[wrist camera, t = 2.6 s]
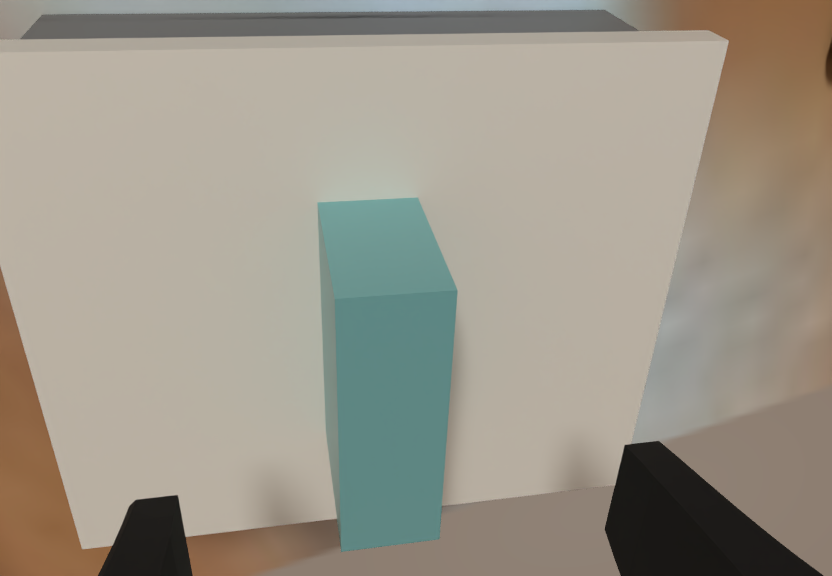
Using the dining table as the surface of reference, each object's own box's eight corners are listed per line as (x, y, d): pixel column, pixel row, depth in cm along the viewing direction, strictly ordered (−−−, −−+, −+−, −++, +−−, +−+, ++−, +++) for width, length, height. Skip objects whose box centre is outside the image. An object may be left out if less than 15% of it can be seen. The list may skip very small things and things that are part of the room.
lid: (694, 23, 16) (845, 100, 12) (601, 448, 23) (680, 593, 19) (-36, 31, 14) (-152, 131, 10) (91, 505, 20) (53, 685, 16)
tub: (604, 10, 19) (680, 55, 16) (549, 364, 25) (595, 452, 22) (42, 14, 17) (-7, 69, 14) (125, 403, 23) (104, 507, 20)
